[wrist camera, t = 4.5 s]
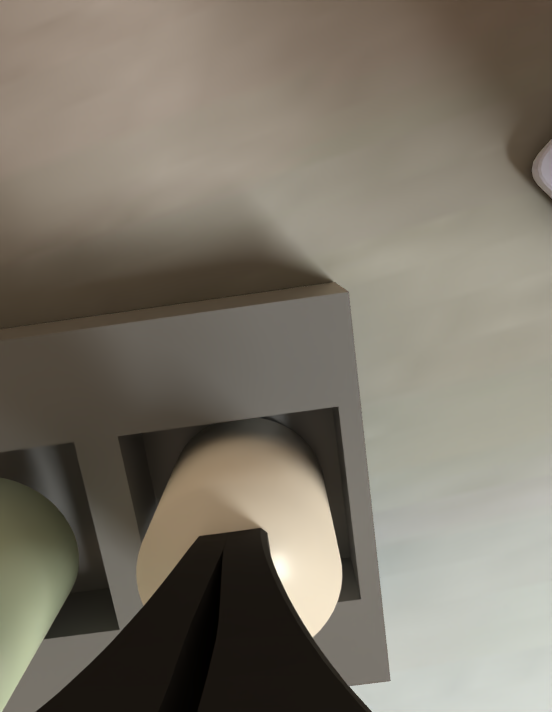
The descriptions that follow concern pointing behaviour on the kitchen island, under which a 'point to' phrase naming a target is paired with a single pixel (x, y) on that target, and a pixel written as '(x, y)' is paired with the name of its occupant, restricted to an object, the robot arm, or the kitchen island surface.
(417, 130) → the kitchen island surface
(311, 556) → the cream rounded block
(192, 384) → the grey slotted tray
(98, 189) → the kitchen island surface
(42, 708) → the robot arm
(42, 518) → the sage button
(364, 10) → the kitchen island surface
